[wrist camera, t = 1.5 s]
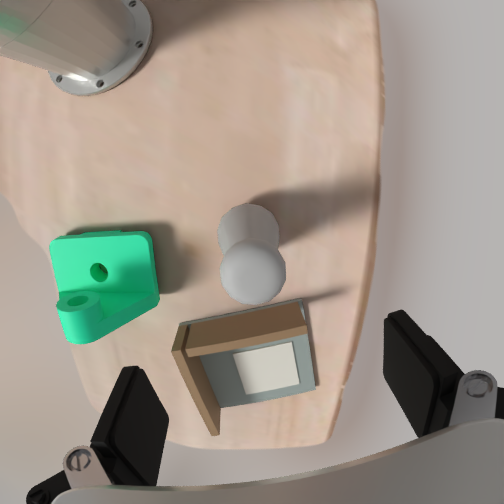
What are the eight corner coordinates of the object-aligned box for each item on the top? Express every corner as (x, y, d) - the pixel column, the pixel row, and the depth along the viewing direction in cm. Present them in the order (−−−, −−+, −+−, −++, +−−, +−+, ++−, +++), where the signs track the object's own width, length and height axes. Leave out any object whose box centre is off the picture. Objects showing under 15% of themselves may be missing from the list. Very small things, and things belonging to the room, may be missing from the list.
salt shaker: (231, 191, 30) (226, 218, 18) (285, 211, 31) (315, 252, 19) (211, 244, 32) (195, 304, 20) (263, 263, 33) (278, 330, 20)
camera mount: (153, 227, 31) (119, 261, 21) (162, 294, 34) (137, 348, 24) (59, 233, 31) (6, 264, 21) (71, 294, 33) (29, 338, 23)
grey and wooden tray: (179, 323, 35) (171, 351, 29) (300, 298, 34) (311, 323, 29) (213, 406, 39) (211, 436, 34) (314, 386, 39) (323, 415, 33)
